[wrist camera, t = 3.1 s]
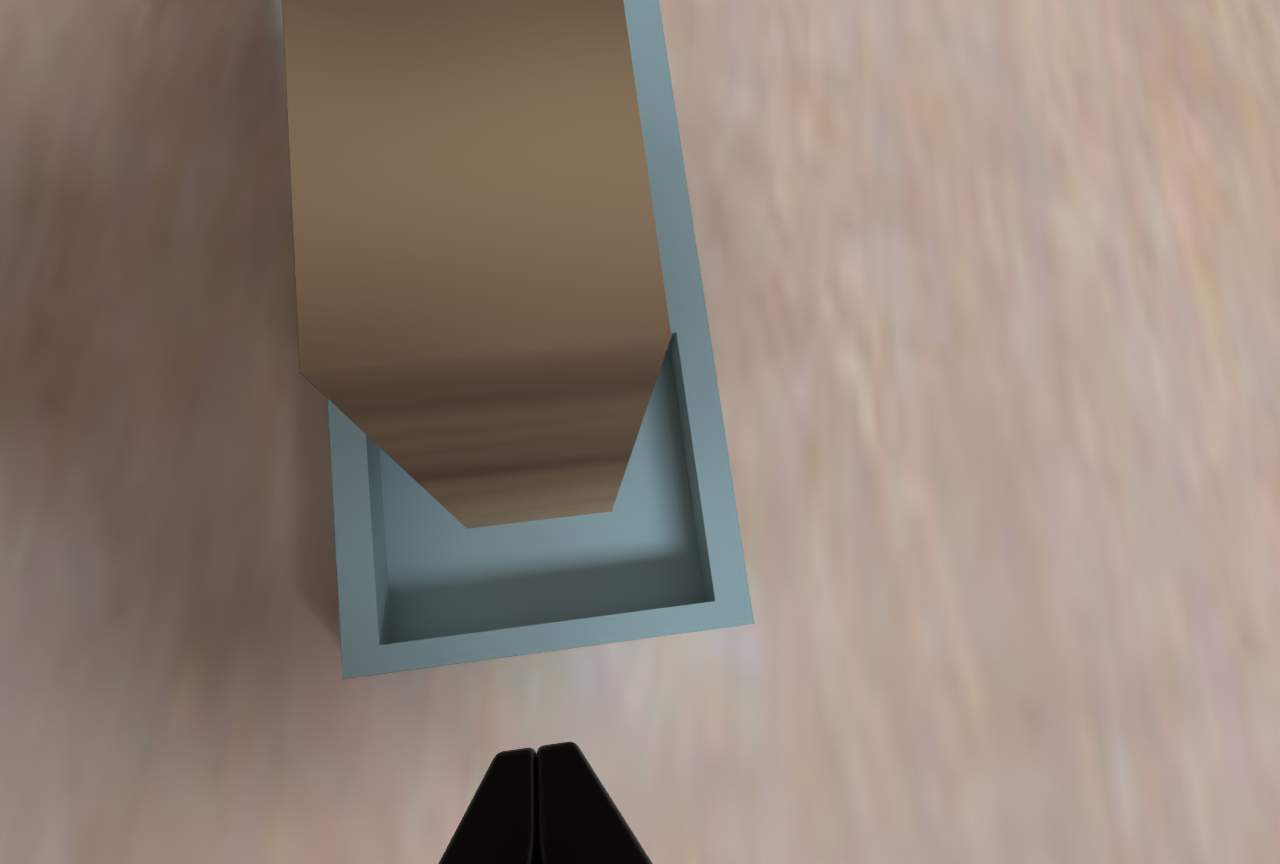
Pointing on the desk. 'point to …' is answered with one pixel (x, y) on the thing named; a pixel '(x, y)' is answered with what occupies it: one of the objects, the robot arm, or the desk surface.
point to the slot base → (568, 546)
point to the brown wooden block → (477, 243)
